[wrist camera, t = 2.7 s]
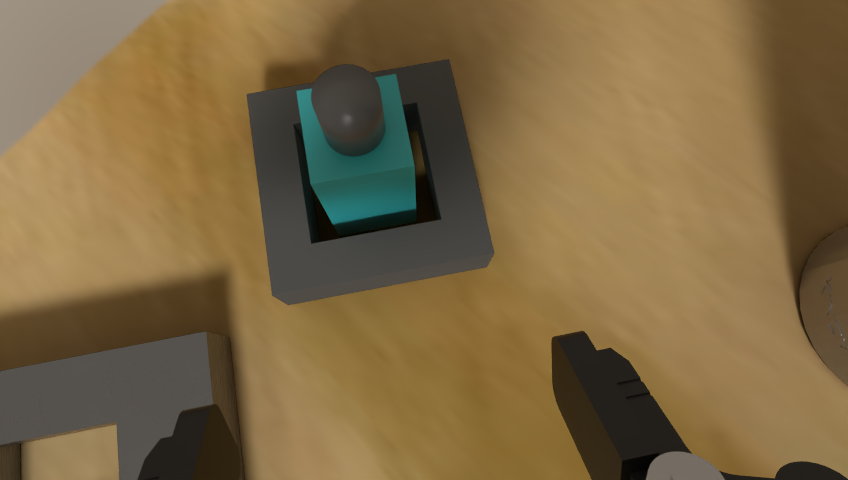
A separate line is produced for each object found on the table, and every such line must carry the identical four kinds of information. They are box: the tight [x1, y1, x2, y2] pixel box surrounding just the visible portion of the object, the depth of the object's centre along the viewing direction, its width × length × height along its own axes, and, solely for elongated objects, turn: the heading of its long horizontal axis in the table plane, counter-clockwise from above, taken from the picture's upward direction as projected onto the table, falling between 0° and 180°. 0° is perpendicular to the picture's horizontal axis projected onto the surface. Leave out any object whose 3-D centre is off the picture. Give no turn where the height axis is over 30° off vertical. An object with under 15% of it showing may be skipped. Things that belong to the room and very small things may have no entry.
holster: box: [247, 59, 494, 305], centre depth 27 cm, size 10×10×3 cm
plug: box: [296, 64, 417, 236], centre depth 24 cm, size 4×4×10 cm
